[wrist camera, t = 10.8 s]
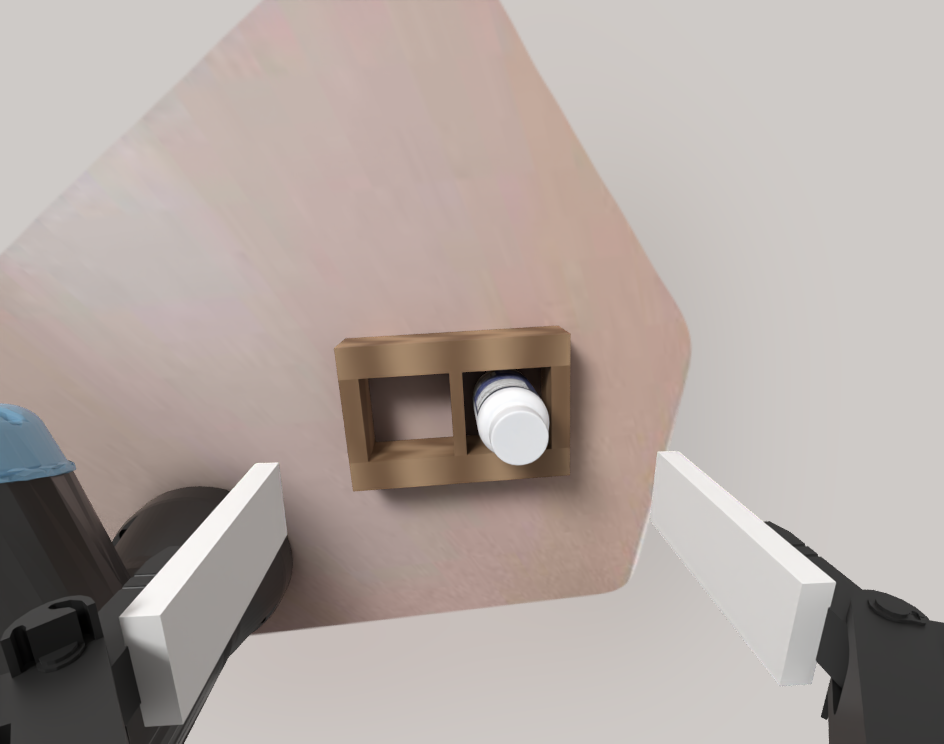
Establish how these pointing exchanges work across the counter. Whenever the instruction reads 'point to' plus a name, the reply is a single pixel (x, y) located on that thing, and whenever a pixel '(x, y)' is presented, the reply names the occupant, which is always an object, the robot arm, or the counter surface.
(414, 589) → the counter surface
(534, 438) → the pill bottle
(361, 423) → the socket board
